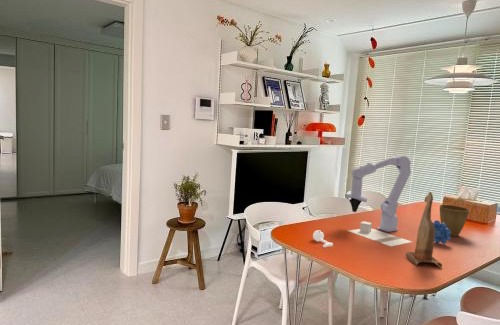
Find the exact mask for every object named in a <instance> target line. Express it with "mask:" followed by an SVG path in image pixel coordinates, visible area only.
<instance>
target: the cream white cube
mask: <svg viewBox="0 0 500 325" xmlns="http://www.w3.org/2000/svg"><path fill="white" fill-rule="evenodd" d="M372 224H373V223H372V222H369V221H364V220H363V221H361V222H360V226H359V229H360V232H365V233H370V232H371V228H372Z"/></svg>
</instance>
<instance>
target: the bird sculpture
mask: <svg viewBox="0 0 500 325" xmlns="http://www.w3.org/2000/svg"><path fill="white" fill-rule="evenodd" d="M423 200H424V203H426V205H425V206H424V210H423V212H422V215H421V219H420V222H419V225H418V229H417V236H416V241H415V250H414V251H413V252H412V251H407V252H405V257H406V258H407V259H408V260H409V261H410V262H411V263H413V264H414V265H415V266H418V264H420V263H434V264H435V263H436V265H437V266H439V267H441V268H443V264H442V263H441V262H440V261H438V260H437V259H436V258H435V257H433V254H434V253H433V252H434V245H435V241H434V240H435V228H434V225H433V223H434V222H433V221H432V216H431V215H432V206H433V200H434V196H433V193H432V192H431V191H429V192H428V194H427V195H426V196H425V197H424V199H423ZM432 222H433V223H432Z"/></svg>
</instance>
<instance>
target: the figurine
mask: <svg viewBox="0 0 500 325" xmlns="http://www.w3.org/2000/svg"><path fill="white" fill-rule="evenodd" d="M324 237H325V234H324V232H323V231H322V230H319V229H318V230H315V231H314V232H313V234H312V238H313V240H315V241H316V242H322V243H324V244H322V247H323V248H327V247H333V246H334V243H333V242H329V241H327V240H325V239H324Z"/></svg>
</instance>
